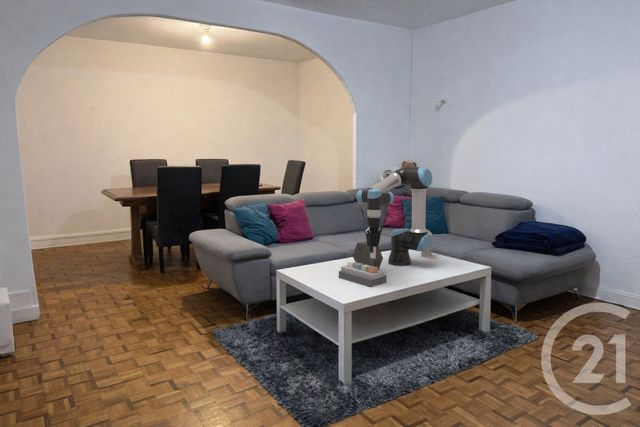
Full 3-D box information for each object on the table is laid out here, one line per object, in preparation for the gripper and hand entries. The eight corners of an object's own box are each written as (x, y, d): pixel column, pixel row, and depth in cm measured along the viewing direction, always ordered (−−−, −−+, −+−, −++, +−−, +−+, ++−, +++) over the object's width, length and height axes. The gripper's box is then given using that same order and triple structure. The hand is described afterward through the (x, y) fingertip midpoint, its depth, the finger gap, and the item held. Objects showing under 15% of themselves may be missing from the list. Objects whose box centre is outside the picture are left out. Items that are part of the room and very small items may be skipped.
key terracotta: (372, 271, 261) (372, 265, 260) (377, 272, 258) (378, 267, 257) (368, 272, 258) (368, 267, 258) (373, 273, 255) (373, 268, 255)
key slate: (358, 267, 269) (358, 262, 268) (363, 268, 266) (363, 263, 265) (354, 268, 266) (354, 263, 266) (359, 270, 263) (359, 265, 263)
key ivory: (352, 265, 273) (352, 260, 272) (356, 266, 270) (356, 261, 269) (347, 266, 270) (347, 261, 270) (352, 268, 267) (352, 263, 267)
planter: (386, 266, 278) (373, 235, 284) (377, 268, 273) (365, 237, 279) (369, 275, 290) (358, 246, 296) (361, 278, 285) (349, 248, 291)
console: (354, 273, 279) (354, 263, 278) (386, 282, 260) (386, 271, 259) (338, 277, 269) (338, 267, 268) (370, 287, 251) (370, 275, 250)
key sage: (365, 269, 265) (365, 264, 264) (370, 270, 262) (370, 265, 261) (360, 270, 262) (361, 265, 262) (366, 272, 259) (366, 267, 259)
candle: (435, 259, 314) (436, 231, 311) (419, 256, 324) (420, 228, 321) (441, 257, 318) (442, 230, 316) (424, 254, 329) (425, 227, 326)
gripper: (376, 215, 260) (375, 255, 264) (361, 217, 252) (360, 258, 255) (386, 216, 255) (385, 257, 258) (371, 218, 246) (370, 260, 249)
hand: (372, 257), depth 257 cm, fingers closed
